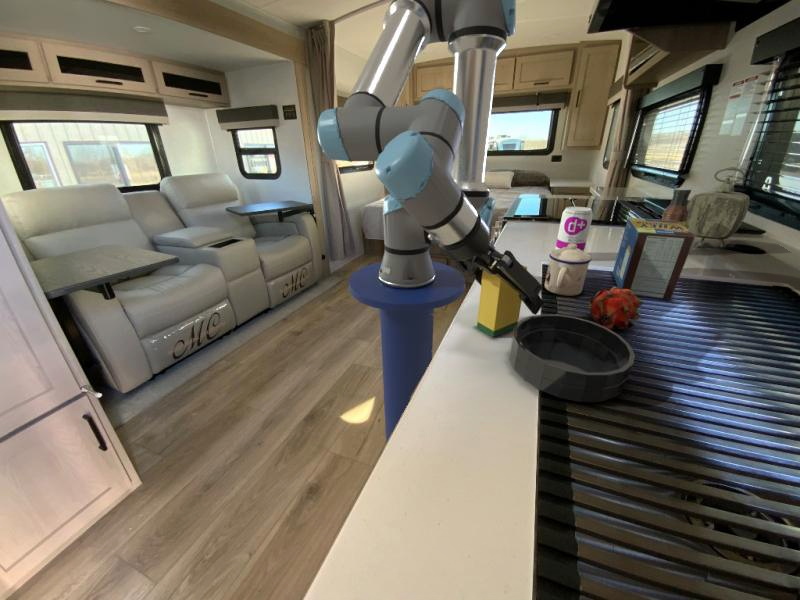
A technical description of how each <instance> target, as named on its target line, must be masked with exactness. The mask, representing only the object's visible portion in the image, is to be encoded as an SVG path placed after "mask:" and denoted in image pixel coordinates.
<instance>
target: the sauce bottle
mask: <svg viewBox="0 0 800 600" xmlns="http://www.w3.org/2000/svg"><path fill="white" fill-rule="evenodd" d="M691 192H692V189H691V188H684V187H678V188H677V187H675V188H674V190H673V192H672V193H673V195H672V199H671V201H670V204H669V205H668V206H666V207H665V209H664V211H663V213H662V217H661V219H660V220H675V221H677V222H678V223H679V224H681V225H682V226H684V227H685V223H686V220H687V215H688V210H687V204H688V199H689V196H690V195H691V194H692V193H691Z"/></svg>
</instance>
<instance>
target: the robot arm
mask: <svg viewBox="0 0 800 600" xmlns="http://www.w3.org/2000/svg"><path fill="white" fill-rule="evenodd" d="M516 11H517V0H392V1H391V3H390V4H389V6H388V8H387V9H386V12H385V14H384V17H383V29H382V31H381V34H380V36H379V37H378V39H377V40H376V43H375V45H374V47H373V49H372V51H371V53H370V55H369V57H368V58H367V60H366V63H364V66H363V68H362V70H361V72H360V74H359V76H358V78H357V80H356V82H355V83H354V85H353V88H352V89H351V92H350V94H349V95H348V98H347V100H346V101H345V103H344V105H343V107H340V108H339V107H337V106H335V107H334V108H330V109H329V108H328V109H325V110H324V111H322V112H321V113H320V115H319V118H318V121H317V139H318V142H319V143H318V144H319V146H320V147H321V148H322V152H323V153H324V155H325V156H326V157H328V158H329V159H330V160H333V161H343V162H344V161H346V162H349V163H353V162H375V165H374V172H375V175H376V178H377V179H378V180H379V182H380V183H382V185H383V186H384V187H385V189H386V190H387V191H388V194H387V195H385V197H384V199H383V207H382V208H383V209H382V210H383V211H382V217H383V218H382V219H383V221H382V222H383V241H384V242H383V243H384V244H383V245H384V253H383V256H382V260H381V262H382V263H381V267H380V270H379V281H380V282H381V283H382V284H383V285H385V286H387V287H390V288H394V289H403V290H411V289H419V288H423V287H426V286H429V285H430V284H432V283H433V282H434V280H435V271H434V268H433V265H432V258H431V255H430V245H433V246H439V248H440V249H442V251H443V252H444V253H445V254H446V255H447V256H448V257H449V258H450V259H451V260H453V261H454V262H455V264H456V265H457V266H458V269H460V272H462V273H467V274H468V275H469V276H470V277H472V278H474V280H475V281H476V282H477V283H478V284H479V285H480V286H481V283H482V274H483V269H484V270H485V271H486V272H488V273H489V274H490V275H496V276H498V277H499V278H500V279H501V280H503V281H504V282H505V283H506V284H508V285H509V286H510V287H511V288H513V289H514V290H515V291H516V292H518V293H519V297H520V300H521V301H522V303H523V304H524V305H525V307H527V309H528V310H529V312H531V314H532V315H534V316H536V315H538V313H539V311H540V310H541V308H543V306H544V304H545V302H544V300H543V299H542V298H541V296H540V295H539V294H540V293H541V291H542V290H543V288H544V286H543V284H541V283H540V282H539V281H538V280H537V279H536V277H534V276H533V275H532V274H531V272H529V270H528V269H527V270H526V269H525V268H524V267H523V266H524V265H523V264H521V262H519V261H518V260H517V259H516V257H515V255H514V253H513V252H512V251H511V250H508V249H506V250H505V251H504V252H503V253H501V252H500V251H498V250H497V249H496V247H495V246H494V245H493V244H492V243H491V242H490V226H491V221H492V218H493V214H494V209H495V205H496V199H495V198H493V197H492V196H490V192H491V190H490V188H489V187H488V186H487V184H486V183H485V174H486V166H487V165H486V164H487V154H488V146H489V135H490V126H491V118H492V117H491V116H492V108H493V107H492V105H493V97H494V88H495V79H496V78H495V77H496V69H497V59H498V57H499V55H500V54H501V53H502V52H503V51H504V50H505V49H506V47H507V39H508V37H511V36H512V35H515V33H516V24H517V23H516V21H517V19H516V18H517V16H516V15H517V12H516ZM436 43H447V51H448V52H449V54H450V55H451V56H452V57H453V72H452V73H453V74H452V76H453V77H452V88H451V90H452V91H451V90H449V89H445V88H435V89H432V90H430V91H429V92H427V93H425V94H424V95H423V96H422V98H421V99H420V100H419V101H418V103H417V104H414V105H412V104H411V105H398V102H399V100H400V97H401V95H402V93H403V90H404V87H405V85H406V83H407V81H408V78H409V75H410V74H411V71H412V68H413V67H414V64H415V61H416V59H417V57H418V55H420V54H421V53H422V52H423V51H424V50H425V49H426V47H427V46H428V45H430V44H436ZM494 264H495V265H494ZM492 265H494V266H493V267H492V269H491V268H490V267H491V266H492ZM522 265H523V266H522Z"/></svg>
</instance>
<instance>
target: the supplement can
mask: <svg viewBox="0 0 800 600" xmlns="http://www.w3.org/2000/svg"><path fill="white" fill-rule="evenodd" d="M593 217H594V214H593V211H592V208H589V207H585V206H566V207H565V209H564V210H563V211H562V214H561V219H560V223H559V229H558V234H557V239H556V244H555V248H554V250H556V249H561V248H564V247H567V246H568V244H570V243H573V244H576V245H577V248H578V249H580V250H581V251H583V252H585V250H586V245H587V240H588V238H589V232H590V229H591V225H592V221H593Z"/></svg>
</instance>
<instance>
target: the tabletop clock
mask: <svg viewBox="0 0 800 600" xmlns="http://www.w3.org/2000/svg"><path fill="white" fill-rule="evenodd" d="M726 171H734V172H738V173H740V174H741V175H742V176H741V178H738V179H731V178H730V177H725V179H721V178H718V177H717V175H718V174H719V173H721V172H726ZM713 177H714V180H716V181H718V182H719V184H717V185H715V186H714V187H713V189H711V190H709V189H708V190H704V191H703V190H702V191H699V192H697V193H694V195H693V196H692V197H691V198H690V199H689V201H688V202H687V204H686V205H687V210H688V215H687V220H686V223H685V228H686V229H687V230H689V231H690V232H691V233H693V234H694V235H695V238H700V242H698V243H697V244H696V247H697V248H700V249H701V248H703V247H704V240H705V239H708V240H709V239H710V240H719V241H720V243H721V244H720V248H721V249H726V248H727V246H728V244H727V243H726V242H725V240H727V239H730V238H731V237H732V236H733V235H734V234H735V233H736V232H737V231H738V230H739V228H740V227H741V225H742V223H743V222H744V219H746V215H747V213H748V210H749V207H750V203H751V200H750V195H747V194H745V193H743V192H738V191H737V192H736V191H735V186H734V185H733V184H731V183H736V182H737V183H738V182H740V181H742V180H743V179H744V178H745V172H744V170H742V169H740V168H736V167H725V168H721V169H719V170H718V171H716V172H715V173H714V175H713Z"/></svg>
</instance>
